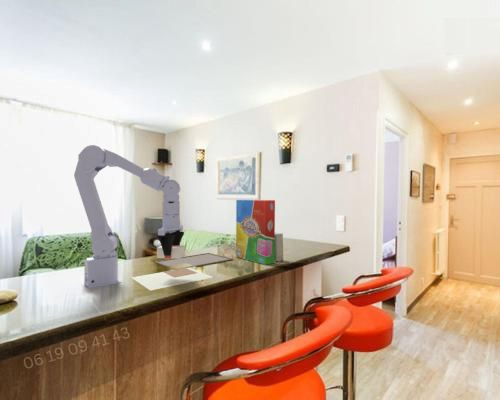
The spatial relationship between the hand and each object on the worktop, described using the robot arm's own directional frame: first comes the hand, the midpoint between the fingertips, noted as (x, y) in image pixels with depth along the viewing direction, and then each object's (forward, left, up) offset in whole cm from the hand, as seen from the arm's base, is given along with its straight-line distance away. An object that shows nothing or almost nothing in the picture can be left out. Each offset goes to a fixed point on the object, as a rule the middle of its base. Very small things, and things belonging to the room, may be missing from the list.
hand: (171, 253), depth 97 cm
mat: (0, -1, -9) cm, 9 cm away
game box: (+41, +3, -9) cm, 42 cm away
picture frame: (+19, +19, -9) cm, 28 cm away
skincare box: (+48, -3, -9) cm, 49 cm away
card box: (0, 0, -1) cm, 1 cm away
